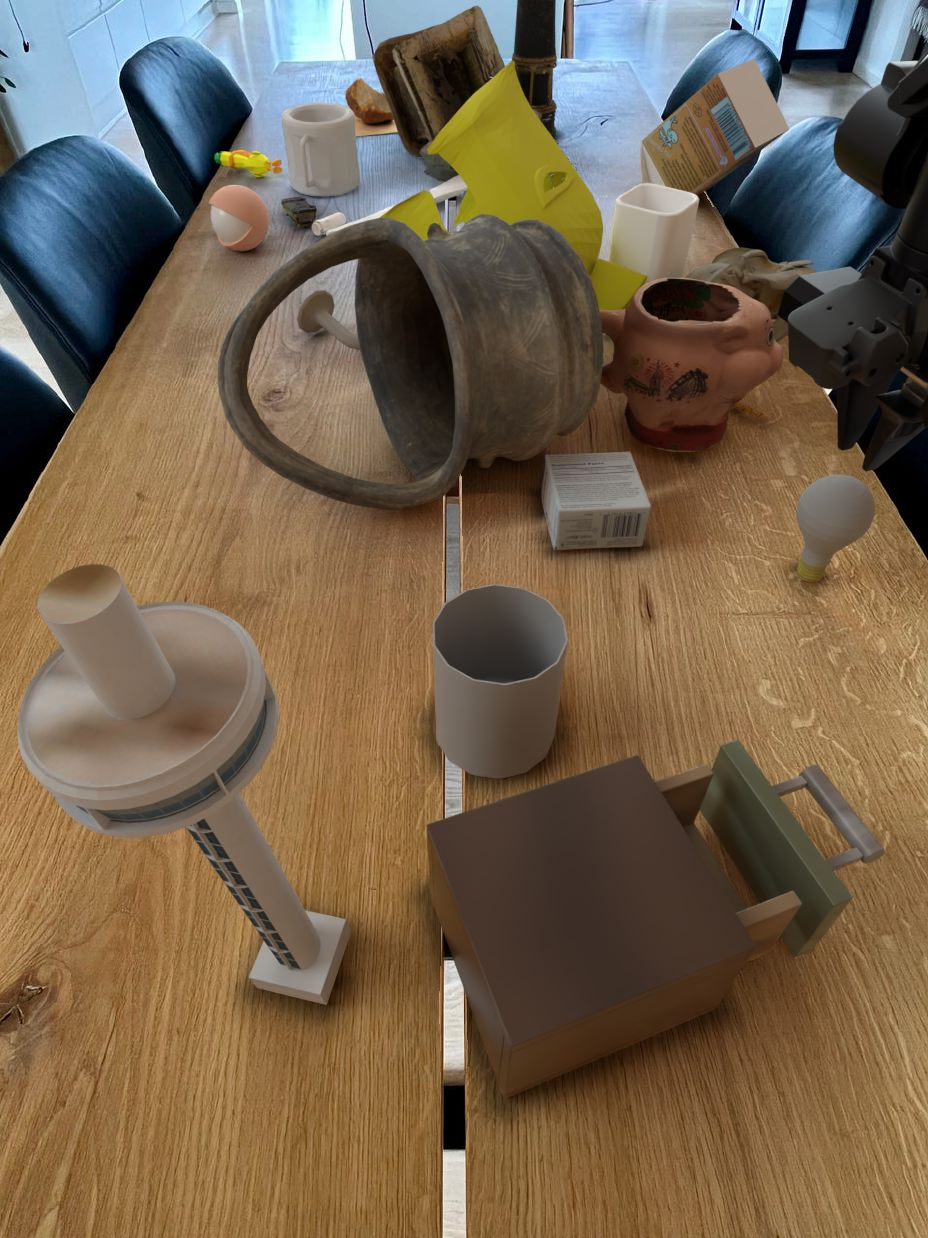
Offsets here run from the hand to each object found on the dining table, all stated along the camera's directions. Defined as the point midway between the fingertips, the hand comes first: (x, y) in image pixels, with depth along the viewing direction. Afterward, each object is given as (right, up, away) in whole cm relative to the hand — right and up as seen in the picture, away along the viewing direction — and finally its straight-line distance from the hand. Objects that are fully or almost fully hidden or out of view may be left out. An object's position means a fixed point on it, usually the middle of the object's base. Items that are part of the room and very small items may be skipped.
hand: (856, 458), depth 60 cm
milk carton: (+11, +59, +53) cm, 81 cm away
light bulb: (0, -8, +9) cm, 12 cm away
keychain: (-1, +10, +26) cm, 28 cm away
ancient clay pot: (-21, +15, +16) cm, 30 cm away
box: (-17, -4, +9) cm, 20 cm away
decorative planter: (-9, +7, +23) cm, 26 cm away
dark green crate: (-52, +48, +58) cm, 91 cm away
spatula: (-37, +49, +59) cm, 86 cm away
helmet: (-33, +42, +30) cm, 62 cm away
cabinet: (-23, -31, -13) cm, 40 cm away
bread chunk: (-43, +77, +93) cm, 128 cm away
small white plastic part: (-46, +44, +55) cm, 84 cm away
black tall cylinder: (-17, +73, +86) cm, 115 cm away
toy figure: (-57, +59, +69) cm, 108 cm away
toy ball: (-58, +39, +53) cm, 88 cm away
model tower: (-37, -31, -13) cm, 50 cm away
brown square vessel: (-29, +72, +69) cm, 104 cm away
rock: (-25, +58, +73) cm, 97 cm away
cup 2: (-8, +22, +37) cm, 44 cm away
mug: (-50, +55, +68) cm, 101 cm away
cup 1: (-26, -19, -2) cm, 33 cm away
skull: (+5, +20, +26) cm, 34 cm away
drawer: (-14, -28, -11) cm, 33 cm away
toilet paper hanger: (-36, +24, +41) cm, 59 cm away
